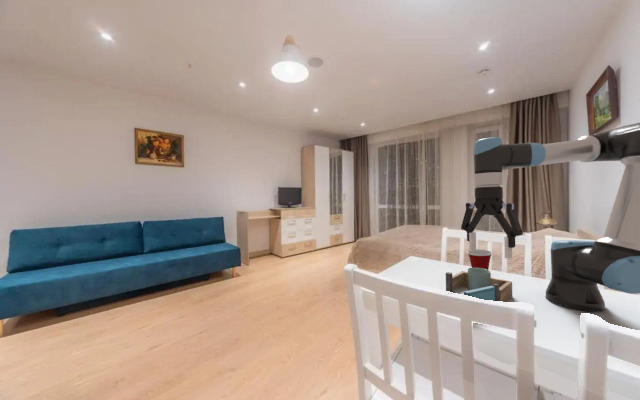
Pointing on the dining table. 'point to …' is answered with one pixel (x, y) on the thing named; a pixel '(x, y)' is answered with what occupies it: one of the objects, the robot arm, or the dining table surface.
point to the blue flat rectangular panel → (482, 293)
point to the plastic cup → (480, 258)
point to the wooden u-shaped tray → (501, 286)
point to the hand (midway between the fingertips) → (489, 254)
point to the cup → (478, 278)
